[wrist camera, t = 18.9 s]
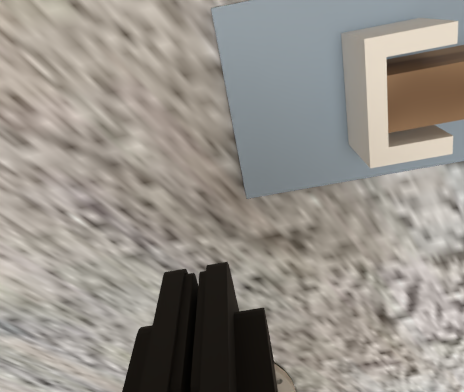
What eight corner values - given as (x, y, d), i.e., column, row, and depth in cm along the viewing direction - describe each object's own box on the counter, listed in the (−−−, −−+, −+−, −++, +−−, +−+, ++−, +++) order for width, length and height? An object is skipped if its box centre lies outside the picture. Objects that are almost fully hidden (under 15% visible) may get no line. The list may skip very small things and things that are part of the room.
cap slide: (418, 131, 31) (452, 153, 26) (348, 144, 31) (370, 168, 27) (419, 17, 28) (458, 21, 23) (341, 33, 28) (364, 39, 23)
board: (587, 133, 32) (598, 137, 32) (245, 193, 34) (246, 198, 33) (626, -76, 27) (640, -79, 26) (211, 8, 28) (210, 8, 27)
